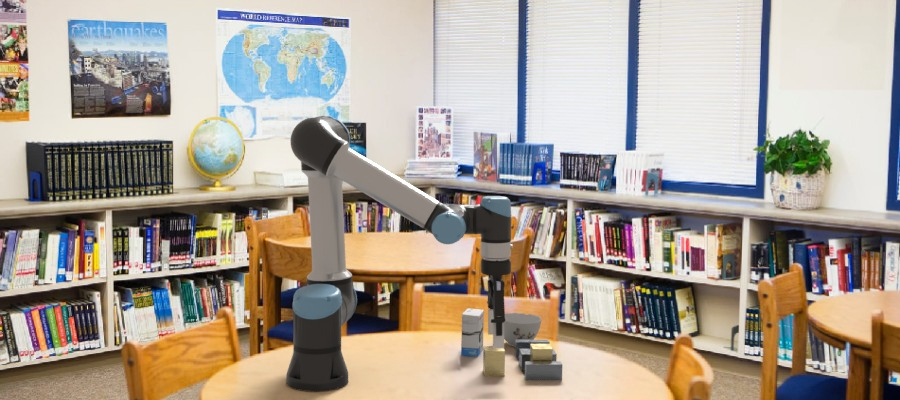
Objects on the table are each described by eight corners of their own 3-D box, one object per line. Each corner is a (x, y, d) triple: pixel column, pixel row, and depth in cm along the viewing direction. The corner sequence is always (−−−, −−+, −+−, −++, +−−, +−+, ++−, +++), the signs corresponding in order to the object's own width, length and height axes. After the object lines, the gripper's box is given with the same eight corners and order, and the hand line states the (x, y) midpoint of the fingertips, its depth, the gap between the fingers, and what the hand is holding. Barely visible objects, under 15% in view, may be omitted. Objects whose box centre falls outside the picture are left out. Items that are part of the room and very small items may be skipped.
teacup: (542, 350, 275) (543, 322, 274) (497, 350, 275) (498, 322, 274) (537, 336, 290) (538, 310, 289) (495, 336, 290) (495, 309, 289)
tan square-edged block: (484, 378, 249) (485, 351, 248) (482, 372, 254) (483, 345, 253) (504, 378, 249) (505, 351, 248) (502, 372, 254) (503, 345, 253)
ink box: (478, 358, 267) (479, 315, 265) (460, 357, 268) (461, 314, 266) (483, 350, 275) (484, 308, 273) (466, 349, 276) (466, 307, 274)
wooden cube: (532, 376, 250) (532, 348, 249) (529, 370, 254) (530, 343, 254) (551, 376, 250) (552, 348, 249) (548, 370, 255) (549, 343, 254)
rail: (526, 382, 246) (526, 364, 245) (514, 355, 270) (515, 339, 269) (561, 382, 246) (562, 364, 246) (547, 355, 270) (548, 339, 270)
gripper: (516, 266, 236) (516, 353, 238) (505, 249, 261) (505, 328, 263) (485, 267, 235) (485, 354, 238) (477, 250, 260) (477, 329, 263)
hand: (495, 341), depth 250 cm, fingers open, 13 cm apart
